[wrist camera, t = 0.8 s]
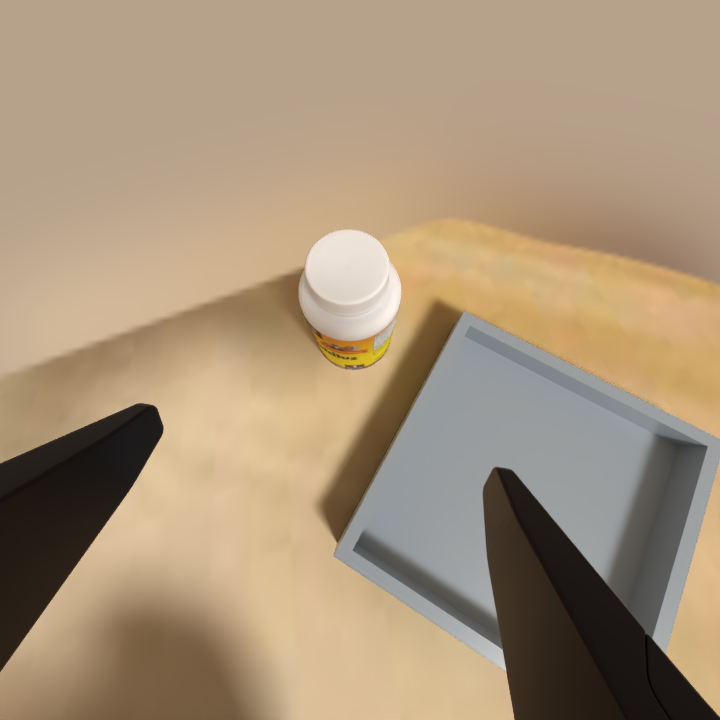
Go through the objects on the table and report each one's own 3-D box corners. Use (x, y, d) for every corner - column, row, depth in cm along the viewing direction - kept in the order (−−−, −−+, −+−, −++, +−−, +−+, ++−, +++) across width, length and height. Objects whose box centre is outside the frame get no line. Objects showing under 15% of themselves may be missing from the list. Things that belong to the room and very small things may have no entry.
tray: (600, 717, 18) (636, 759, 16) (337, 542, 21) (333, 556, 18) (684, 441, 22) (724, 441, 19) (454, 324, 24) (464, 311, 22)
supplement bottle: (303, 342, 24) (261, 271, 14) (349, 291, 25) (340, 193, 15) (359, 387, 23) (354, 345, 13) (405, 333, 24) (432, 256, 14)
